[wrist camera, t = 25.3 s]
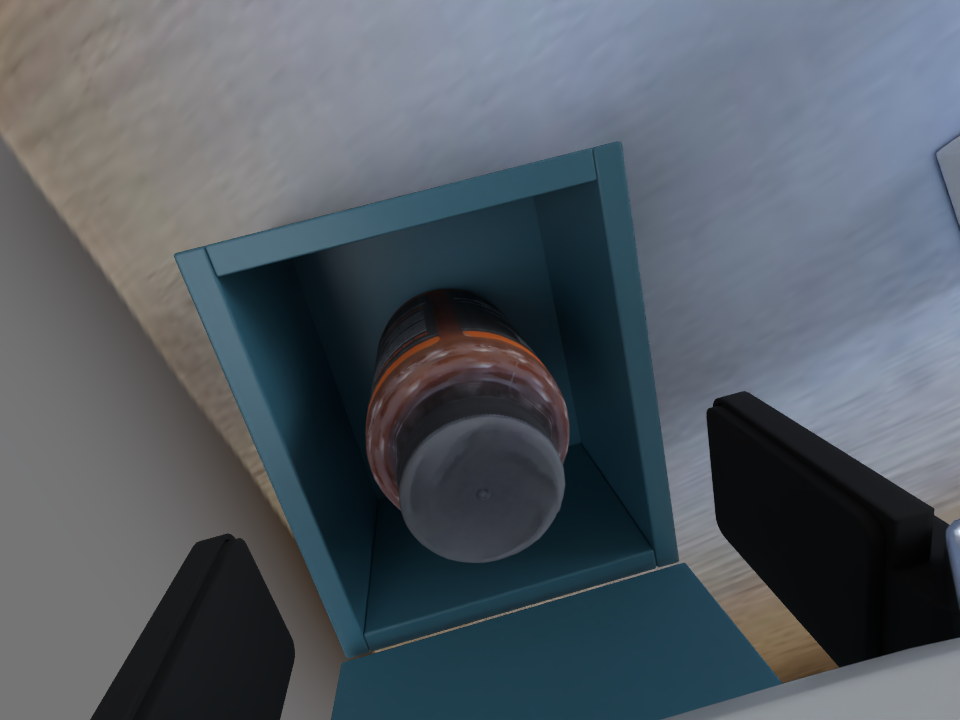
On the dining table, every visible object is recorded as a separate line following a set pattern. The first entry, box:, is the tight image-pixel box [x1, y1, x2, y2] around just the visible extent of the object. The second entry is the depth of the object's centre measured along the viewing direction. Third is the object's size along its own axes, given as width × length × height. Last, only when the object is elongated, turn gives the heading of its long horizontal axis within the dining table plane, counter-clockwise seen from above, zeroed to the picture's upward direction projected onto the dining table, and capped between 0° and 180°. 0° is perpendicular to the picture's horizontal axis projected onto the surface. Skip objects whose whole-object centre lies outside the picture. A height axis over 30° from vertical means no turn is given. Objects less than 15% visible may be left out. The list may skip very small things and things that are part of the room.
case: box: [174, 141, 679, 658], centre depth 19 cm, size 14×12×9 cm
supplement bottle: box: [365, 289, 569, 563], centre depth 17 cm, size 6×6×11 cm
